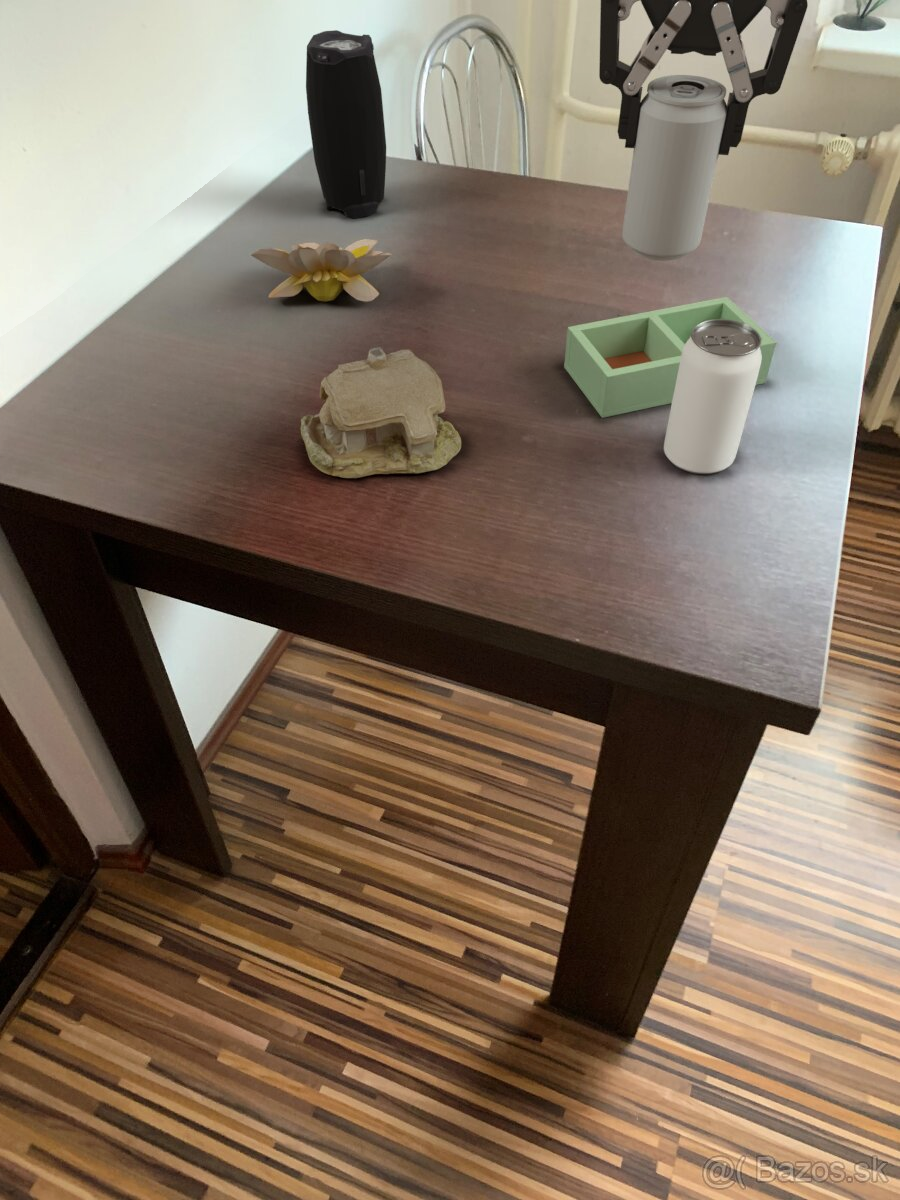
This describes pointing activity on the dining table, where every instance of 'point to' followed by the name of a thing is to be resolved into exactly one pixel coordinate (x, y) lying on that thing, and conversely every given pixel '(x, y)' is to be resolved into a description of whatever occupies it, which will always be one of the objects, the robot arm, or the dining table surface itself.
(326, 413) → the ceramic model
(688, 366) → the can
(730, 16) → the robot arm
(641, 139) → the beverage can
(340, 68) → the portable speaker
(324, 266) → the decorative flower
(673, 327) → the cup holder
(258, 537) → the dining table surface
